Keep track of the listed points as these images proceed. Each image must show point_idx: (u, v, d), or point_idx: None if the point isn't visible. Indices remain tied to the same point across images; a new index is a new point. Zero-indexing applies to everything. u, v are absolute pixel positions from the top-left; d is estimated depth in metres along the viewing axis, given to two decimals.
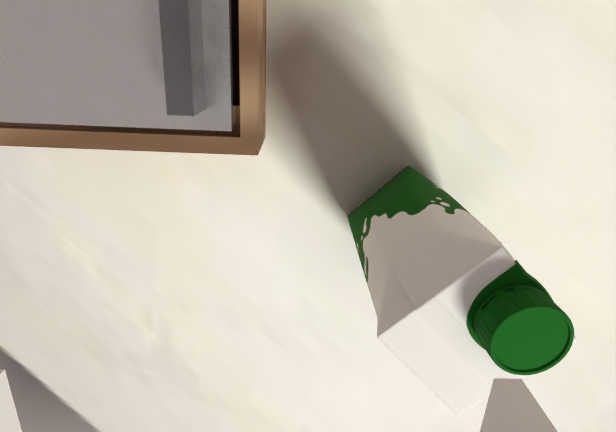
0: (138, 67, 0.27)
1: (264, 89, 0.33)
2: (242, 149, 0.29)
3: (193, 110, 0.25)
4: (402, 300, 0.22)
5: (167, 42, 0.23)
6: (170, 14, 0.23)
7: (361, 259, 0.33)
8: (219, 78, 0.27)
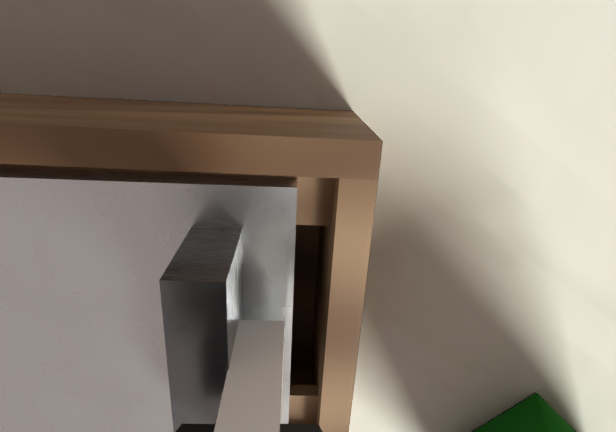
0: (127, 364, 0.15)
1: None
2: None
3: None
4: None
5: (183, 407, 0.12)
6: (191, 365, 0.11)
7: None
8: None
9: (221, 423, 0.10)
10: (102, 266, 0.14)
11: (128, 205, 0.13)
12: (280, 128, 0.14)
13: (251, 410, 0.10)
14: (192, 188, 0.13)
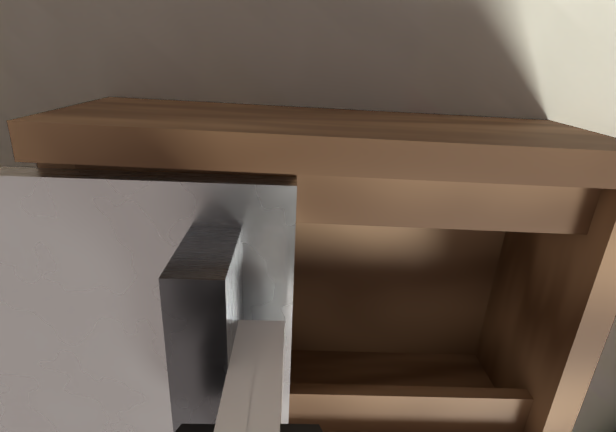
0: (127, 363, 0.15)
1: None
2: None
3: None
4: None
5: (182, 405, 0.12)
6: (190, 364, 0.11)
7: None
8: None
9: (221, 423, 0.10)
10: (102, 264, 0.14)
11: (128, 203, 0.13)
12: (553, 140, 0.14)
13: (251, 410, 0.10)
14: (192, 187, 0.13)
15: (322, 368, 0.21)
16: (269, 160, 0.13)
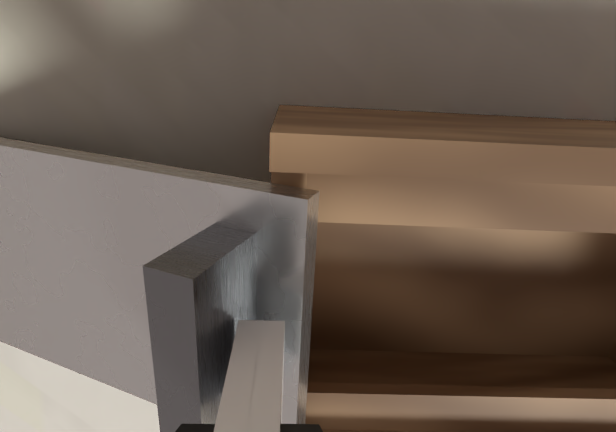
0: None
1: None
2: None
3: None
4: None
5: (164, 387, 0.12)
6: (168, 351, 0.12)
7: None
8: None
9: (221, 423, 0.10)
10: (148, 246, 0.16)
11: (167, 196, 0.14)
12: None
13: (251, 410, 0.10)
14: (216, 188, 0.14)
15: (467, 370, 0.22)
16: (513, 169, 0.13)
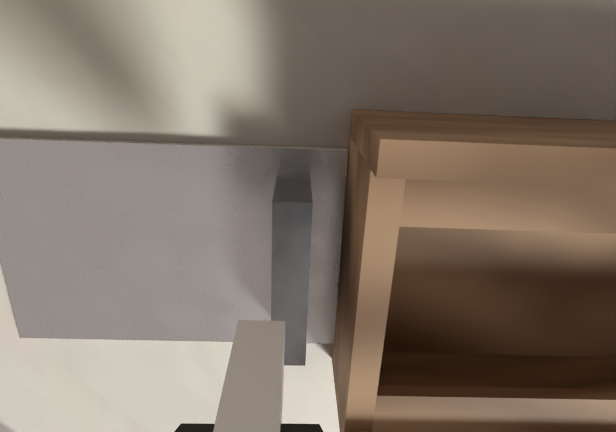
0: (224, 279, 0.21)
1: None
2: None
3: (304, 359, 0.19)
4: None
5: (279, 290, 0.18)
6: (286, 259, 0.17)
7: None
8: (324, 289, 0.22)
9: (220, 423, 0.10)
10: (214, 206, 0.20)
11: (235, 163, 0.19)
12: None
13: (252, 410, 0.10)
14: (278, 151, 0.19)
15: (530, 372, 0.22)
16: None
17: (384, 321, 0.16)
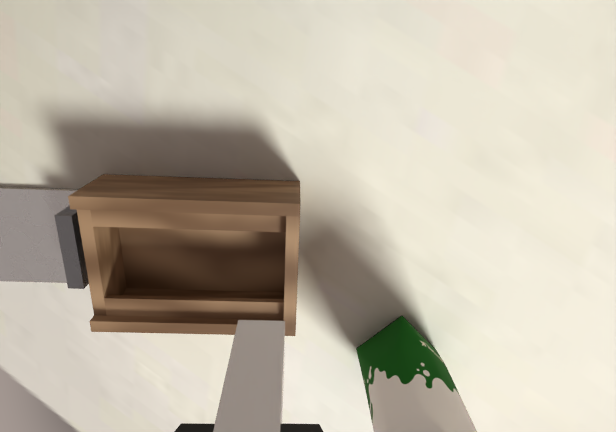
0: (55, 251, 0.45)
1: None
2: None
3: (83, 285, 0.43)
4: None
5: (64, 253, 0.41)
6: (65, 240, 0.41)
7: (367, 396, 0.45)
8: None
9: (220, 423, 0.10)
10: (45, 216, 0.43)
11: (52, 197, 0.43)
12: (266, 197, 0.38)
13: (252, 410, 0.10)
14: (71, 192, 0.43)
15: (205, 296, 0.45)
16: (157, 207, 0.36)
17: (97, 264, 0.39)
